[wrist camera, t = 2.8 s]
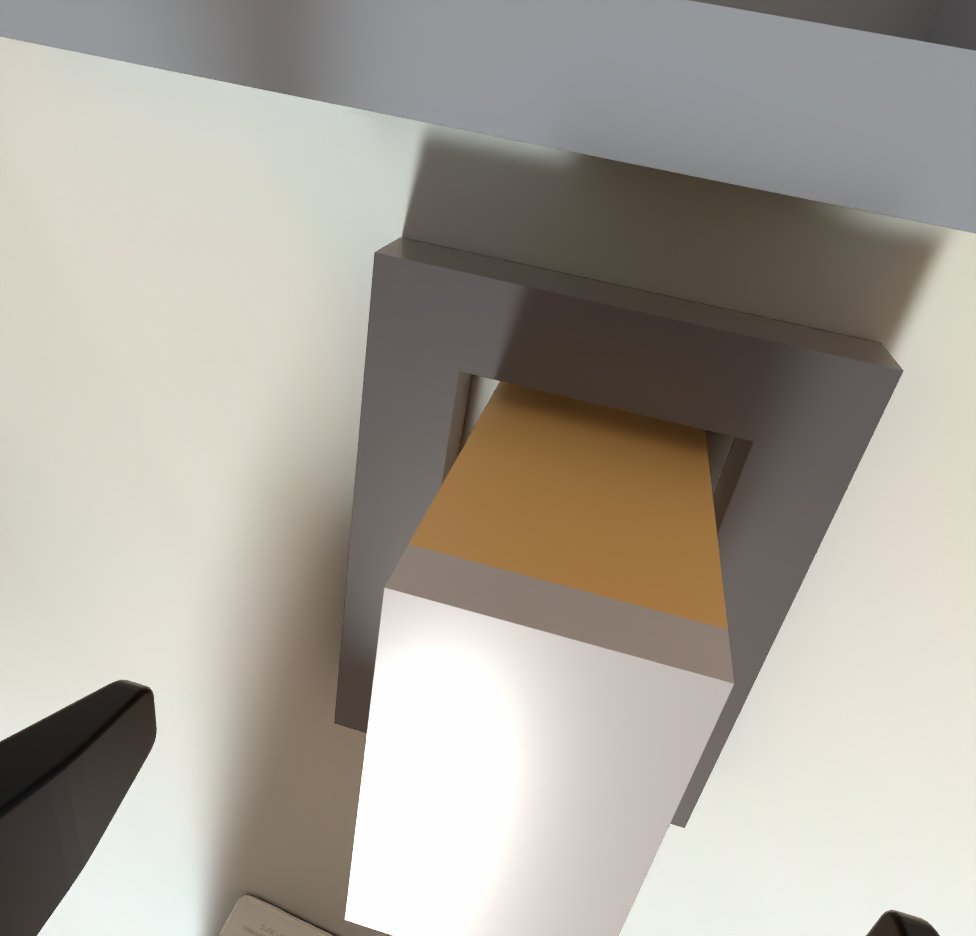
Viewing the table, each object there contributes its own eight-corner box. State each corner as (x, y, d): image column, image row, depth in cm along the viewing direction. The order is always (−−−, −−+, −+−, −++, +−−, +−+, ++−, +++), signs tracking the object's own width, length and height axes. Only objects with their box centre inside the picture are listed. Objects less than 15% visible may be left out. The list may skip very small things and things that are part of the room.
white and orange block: (453, 639, 15) (344, 919, 10) (501, 378, 12) (385, 587, 7) (615, 684, 15) (588, 1000, 10) (705, 427, 12) (734, 683, 7)
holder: (354, 683, 17) (334, 723, 16) (400, 237, 12) (374, 252, 11) (683, 778, 16) (684, 827, 15) (880, 343, 11) (903, 370, 10)
